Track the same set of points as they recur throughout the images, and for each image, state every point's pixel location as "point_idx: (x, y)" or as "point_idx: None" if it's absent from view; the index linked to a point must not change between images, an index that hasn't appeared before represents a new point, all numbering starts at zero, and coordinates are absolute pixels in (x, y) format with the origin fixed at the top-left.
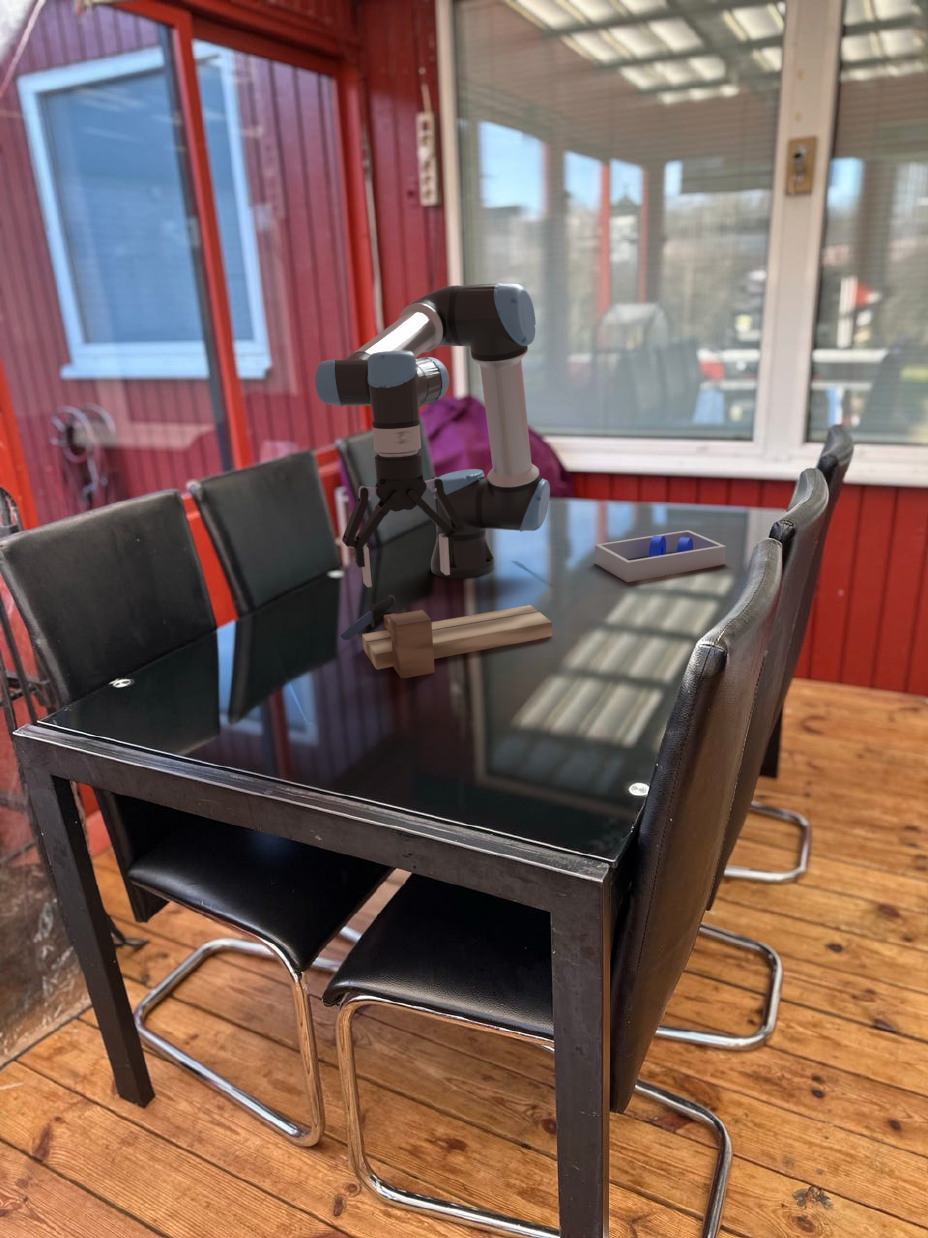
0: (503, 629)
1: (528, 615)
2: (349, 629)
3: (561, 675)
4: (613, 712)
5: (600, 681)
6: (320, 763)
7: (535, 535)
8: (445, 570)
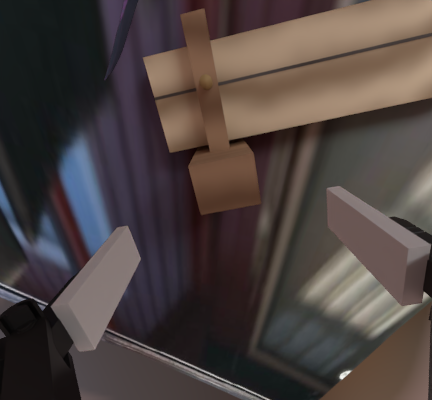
0: (384, 102)
1: None
2: (117, 43)
3: None
4: None
5: None
6: (133, 316)
7: None
8: (334, 232)
